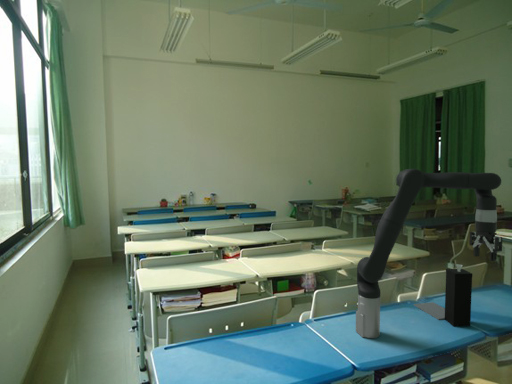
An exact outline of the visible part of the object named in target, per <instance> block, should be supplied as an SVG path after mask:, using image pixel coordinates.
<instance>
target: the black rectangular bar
mask: <svg viewBox="0 0 512 384" xmlns="http://www.w3.org/2000/svg"><path fill="white" fill-rule="evenodd" d="M455 267H456V268H445V293H444V294H445V296H444V298H445V299H444V308H445V319H444V320H445V321H446V322H447V323H448V324H450V325H451V326H453V327H471V317H472V313H471V312H472V292H473V291H472V290H473V289H472V288H473V273H471V272H470V271H467V270H466V269H464V268H463V264H458V263H456V264H455Z"/></svg>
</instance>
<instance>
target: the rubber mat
mask: <svg viewBox="0 0 512 384" xmlns="http://www.w3.org/2000/svg"><path fill="white" fill-rule="evenodd" d="M413 306H414V307H416V308H418V309H419V310H421V311H423V312H425V313H426V314H428V315H429V316H431V317H434V318H435V319H437V320H438V321H443V320H445V307H443V306H441V305H439V304H437V303H435V302H434V301H433V302H432V301H431V302H424V303H423V302H422V303H413Z"/></svg>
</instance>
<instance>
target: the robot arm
mask: <svg viewBox="0 0 512 384" xmlns="http://www.w3.org/2000/svg"><path fill="white" fill-rule="evenodd" d="M395 178H396V179H395V183H396V184H397V186H398V191H397V193H396V196H395V197H394V198H393V200H392V201H391V203H390V204H389V205H388V206H387V208H386V209H385V211H384V212H383V214H382V216H381V218H380V220H379V221H378V224H377V227H376V231H375V236H374V244H373V247H372V248H373V249H372V250H371V252H370V255H369V256H365V257H362V258H361V259H360V260H359V261H358V262H357V265H356V286H357V298H358V299H357V310H355V332H356V333H357V334H358V335H359V336H360V337H361V338H367V339H376V338H378V337H380V331H381V329H380V328H381V288H380V286H379V281H380V280H381V279H382V277H383V275H384V273H385V269H386V267H387V264H388V261H389V259H390V255H391V253H392V251H393V248H394V246H395V245H396V241H397V240H398V238H399V236H400V234H401V231H402V229H403V227H404V224H405V223H406V219H407V217H408V215H409V213H410V210H411V208H412V205H413V204H414V201H415V199H416V197H417V196H418V194H419V193H420V191H421V190H422V189H423V188H437V189H438V188H439V189H451V190H452V189H453V190H470V189H471V190H474V193H475V197H476V206H475V207H476V210H475V219H474V223H475V225H474V229H475V231H470V232H469V246H471V247H472V248H473V256H474V257H480V256H481V255H480V252H481V251H480V250H481V249H480V246H481V245H486V246H487V247H486V248H488V249H489V250H490V252H489V257H490V258H489V261H490V262H496V260H497V258H498V253H499V252H503V237H502V236H496V232H497V227H498V225H497V223H498V214H497V203H498V202H497V197H496V196H495V195H493V193H492V190H496V189H497V188H499V187H500V186H501V185H502V177H500V176H499V174H497V173H495V172H475V173H474V172H473V173H472V172H461V171H460V172H459V171H458V172H457V171H456V172H455V171H454V172H453V171H451V172H450V171H449V172H422V171H421V170H420V169H417V168H407V169H403V170H401V171H400V172H399V173H398V174H397V175H396V177H395Z"/></svg>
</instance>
